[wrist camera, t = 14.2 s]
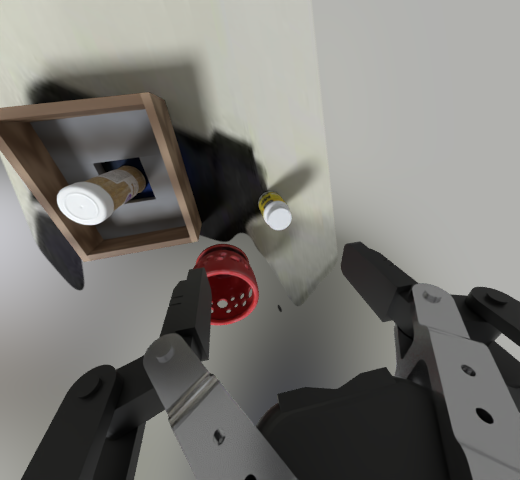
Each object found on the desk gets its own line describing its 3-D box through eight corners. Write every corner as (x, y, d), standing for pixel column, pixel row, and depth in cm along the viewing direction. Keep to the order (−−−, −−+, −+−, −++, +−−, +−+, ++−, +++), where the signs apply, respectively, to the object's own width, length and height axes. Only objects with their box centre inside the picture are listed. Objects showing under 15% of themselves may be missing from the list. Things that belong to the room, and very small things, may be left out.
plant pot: (262, 258, 45) (274, 296, 35) (224, 291, 48) (224, 335, 38) (220, 224, 39) (219, 258, 28) (179, 264, 42) (165, 307, 31)
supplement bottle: (264, 186, 36) (274, 201, 29) (285, 196, 38) (299, 211, 31) (253, 208, 38) (261, 227, 31) (273, 216, 40) (285, 236, 33)
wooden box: (28, 115, 26) (-29, 111, 20) (164, 100, 27) (149, 92, 22) (106, 240, 36) (83, 262, 30) (201, 223, 38) (198, 241, 32)
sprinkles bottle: (144, 196, 33) (104, 231, 22) (114, 186, 32) (54, 218, 20) (149, 171, 32) (108, 195, 20) (117, 159, 30) (54, 178, 19)
